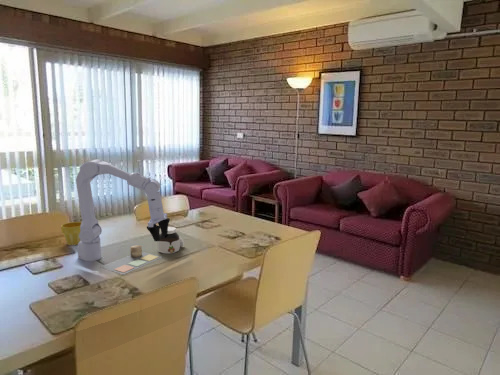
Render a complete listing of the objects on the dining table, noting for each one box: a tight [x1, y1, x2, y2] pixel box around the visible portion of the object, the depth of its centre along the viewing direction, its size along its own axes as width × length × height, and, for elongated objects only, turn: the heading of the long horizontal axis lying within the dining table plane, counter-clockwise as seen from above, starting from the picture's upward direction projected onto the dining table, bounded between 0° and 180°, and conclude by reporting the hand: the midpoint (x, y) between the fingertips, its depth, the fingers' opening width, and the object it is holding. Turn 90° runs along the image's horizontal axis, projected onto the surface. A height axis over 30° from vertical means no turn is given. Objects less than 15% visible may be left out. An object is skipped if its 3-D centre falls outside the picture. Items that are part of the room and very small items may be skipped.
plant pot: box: [60, 221, 82, 246], centre depth 174 cm, size 10×10×10 cm
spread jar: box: [157, 226, 185, 254], centre depth 166 cm, size 12×11×12 cm
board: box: [99, 251, 163, 275], centre depth 150 cm, size 14×22×1 cm, turn 151°
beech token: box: [129, 244, 143, 258], centre depth 157 cm, size 5×5×4 cm
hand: (161, 238), depth 154 cm, fingers open, 7 cm apart
